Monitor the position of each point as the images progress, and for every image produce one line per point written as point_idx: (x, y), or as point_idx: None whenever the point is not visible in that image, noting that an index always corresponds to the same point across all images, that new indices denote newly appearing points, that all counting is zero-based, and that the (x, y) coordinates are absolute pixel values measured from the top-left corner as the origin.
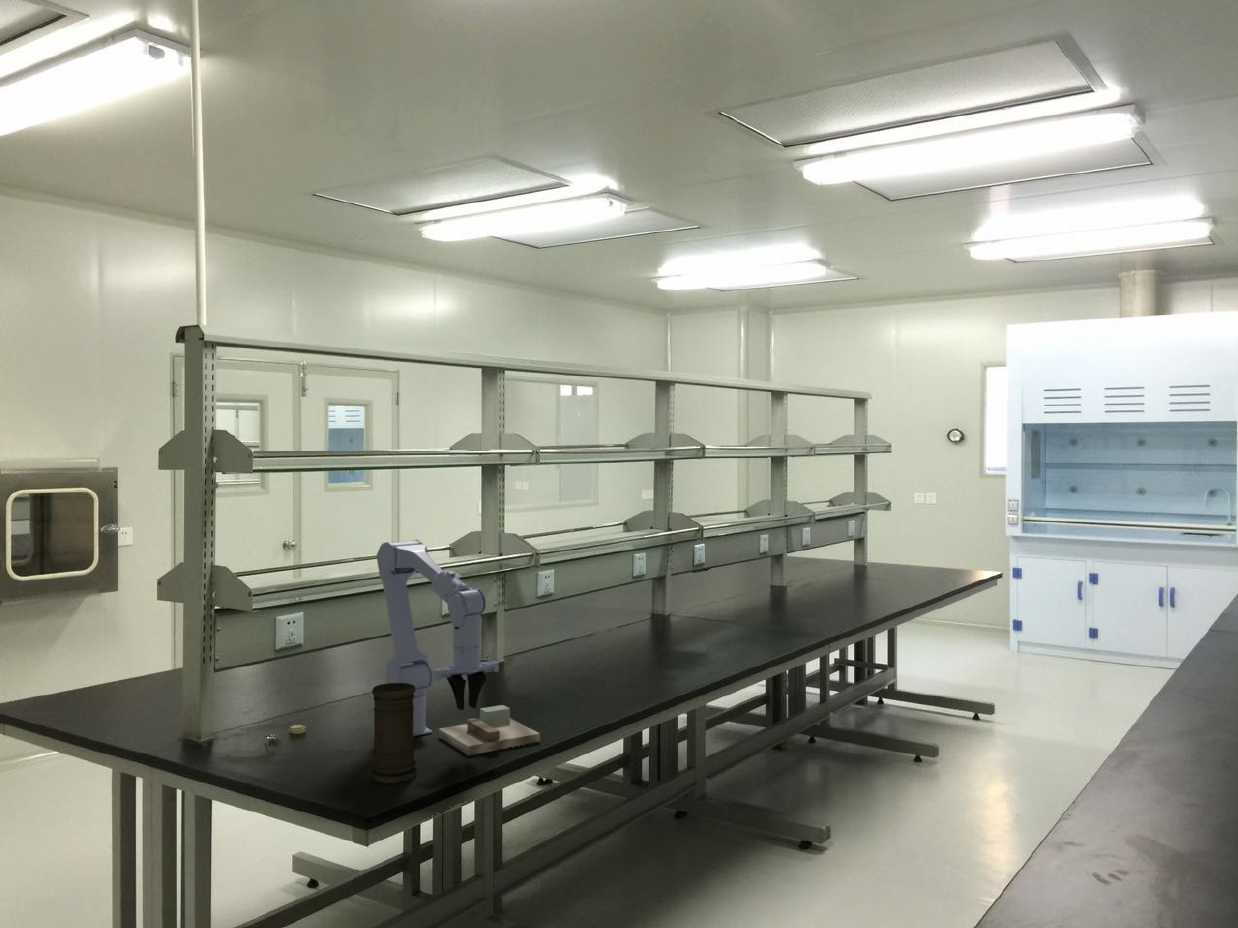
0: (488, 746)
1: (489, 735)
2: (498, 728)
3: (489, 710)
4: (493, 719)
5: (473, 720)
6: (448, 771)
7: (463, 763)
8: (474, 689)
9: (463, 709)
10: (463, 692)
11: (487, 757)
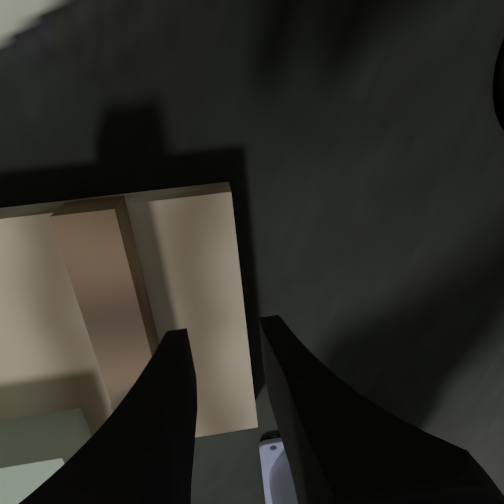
0: (129, 199)
1: (116, 204)
2: (37, 367)
3: (43, 474)
4: (41, 430)
5: None
6: (379, 5)
7: (281, 87)
8: (166, 441)
9: (260, 318)
10: (301, 393)
11: (157, 119)
